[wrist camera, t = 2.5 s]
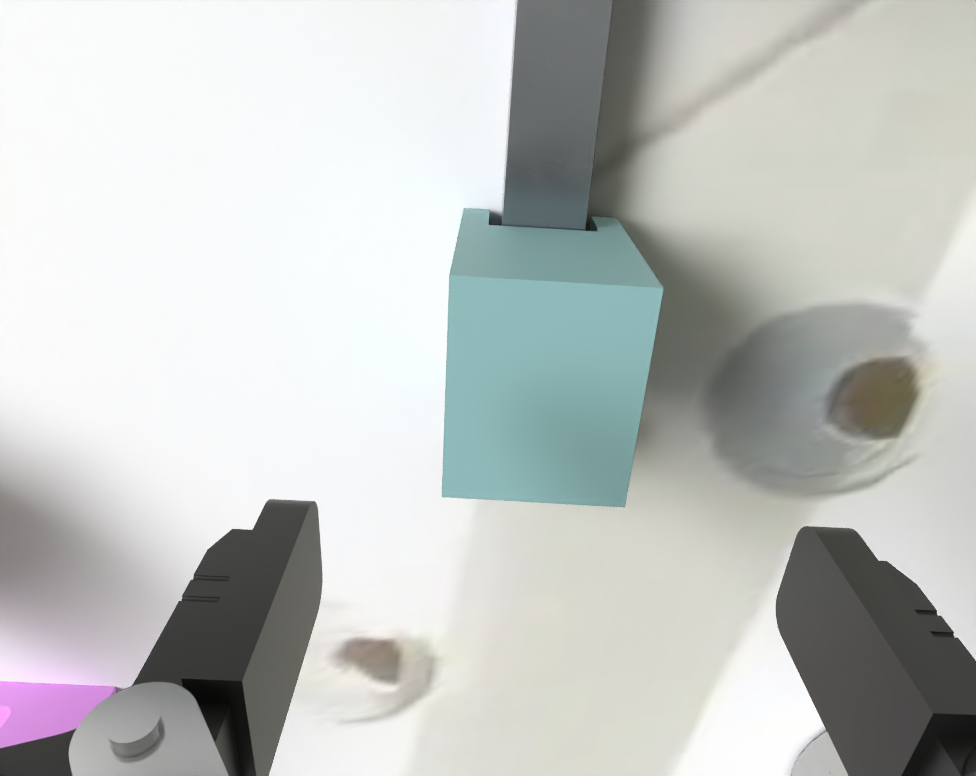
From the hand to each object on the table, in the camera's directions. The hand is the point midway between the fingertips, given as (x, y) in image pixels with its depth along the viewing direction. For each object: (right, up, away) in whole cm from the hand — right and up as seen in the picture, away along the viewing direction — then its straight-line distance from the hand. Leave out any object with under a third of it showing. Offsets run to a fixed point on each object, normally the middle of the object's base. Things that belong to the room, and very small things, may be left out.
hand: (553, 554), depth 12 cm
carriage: (0, +6, +12) cm, 13 cm away
